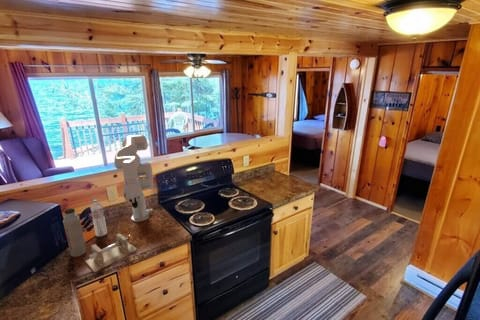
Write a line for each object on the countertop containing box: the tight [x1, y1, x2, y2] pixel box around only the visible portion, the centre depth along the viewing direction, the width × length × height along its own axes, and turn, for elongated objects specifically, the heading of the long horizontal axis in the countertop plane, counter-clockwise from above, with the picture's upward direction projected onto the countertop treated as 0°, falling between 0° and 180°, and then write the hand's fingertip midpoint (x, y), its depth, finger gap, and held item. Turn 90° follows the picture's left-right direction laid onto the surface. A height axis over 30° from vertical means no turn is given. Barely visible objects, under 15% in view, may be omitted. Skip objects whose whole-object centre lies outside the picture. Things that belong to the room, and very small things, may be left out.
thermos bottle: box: [62, 208, 87, 258], centre depth 148 cm, size 8×8×28 cm
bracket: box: [84, 233, 137, 273], centre depth 147 cm, size 24×12×10 cm, turn 140°
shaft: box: [88, 233, 134, 259], centre depth 148 cm, size 24×4×4 cm, turn 140°
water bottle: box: [90, 199, 108, 238], centre depth 167 cm, size 7×7×25 cm
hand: (135, 207), depth 159 cm, fingers closed
